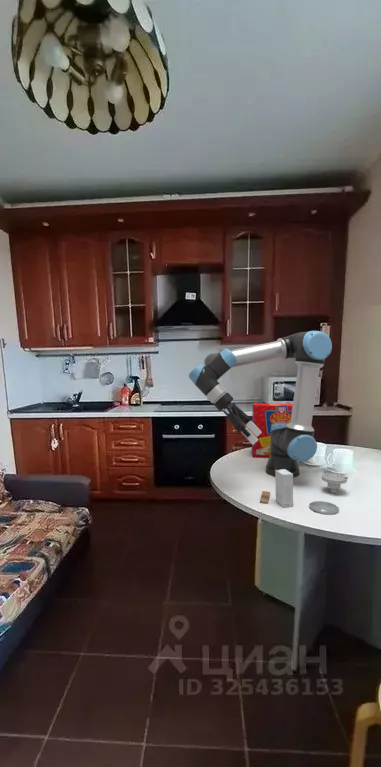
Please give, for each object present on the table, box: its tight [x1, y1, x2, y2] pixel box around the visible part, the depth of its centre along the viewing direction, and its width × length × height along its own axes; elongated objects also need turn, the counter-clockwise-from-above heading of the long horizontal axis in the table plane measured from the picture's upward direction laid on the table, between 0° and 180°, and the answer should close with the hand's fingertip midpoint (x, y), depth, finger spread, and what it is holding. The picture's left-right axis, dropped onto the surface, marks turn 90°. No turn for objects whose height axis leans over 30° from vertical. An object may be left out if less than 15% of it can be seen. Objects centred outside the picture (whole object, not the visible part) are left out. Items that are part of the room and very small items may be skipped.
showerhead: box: [321, 472, 349, 494], centre depth 147 cm, size 9×7×10 cm
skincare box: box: [274, 469, 294, 508], centre depth 135 cm, size 6×4×12 cm
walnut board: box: [259, 490, 271, 505], centre depth 140 cm, size 10×3×1 cm, turn 164°
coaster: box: [308, 500, 340, 516], centre depth 132 cm, size 10×10×1 cm
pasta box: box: [251, 402, 293, 459], centre depth 196 cm, size 28×8×28 cm, turn 85°
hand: (257, 438), depth 142 cm, fingers open, 13 cm apart
